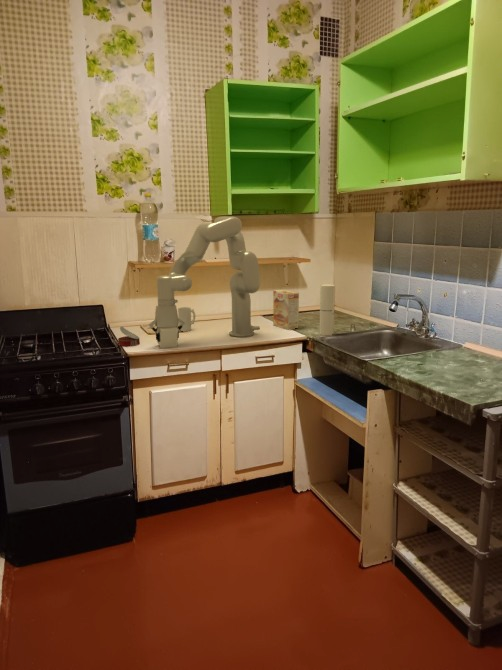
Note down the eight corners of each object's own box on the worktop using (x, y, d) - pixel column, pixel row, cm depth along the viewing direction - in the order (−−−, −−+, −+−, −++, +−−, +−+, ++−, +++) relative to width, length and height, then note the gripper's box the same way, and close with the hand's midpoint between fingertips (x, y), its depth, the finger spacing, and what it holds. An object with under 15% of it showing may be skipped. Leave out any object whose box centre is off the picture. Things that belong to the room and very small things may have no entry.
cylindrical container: (316, 333, 263) (317, 284, 257) (328, 332, 265) (330, 283, 260) (323, 336, 256) (325, 286, 251) (336, 334, 259) (337, 285, 253)
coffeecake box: (272, 325, 283) (272, 290, 279) (283, 323, 287) (283, 289, 282) (287, 330, 271) (288, 293, 266) (298, 328, 274) (299, 292, 270)
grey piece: (173, 339, 243) (173, 322, 239) (177, 346, 237) (177, 329, 233) (157, 341, 240) (157, 324, 237) (160, 348, 234) (161, 330, 230)
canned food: (127, 351, 248) (132, 331, 250) (142, 352, 242) (147, 332, 244) (109, 344, 239) (115, 324, 242) (124, 345, 233) (129, 324, 236)
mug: (183, 332, 266) (182, 309, 264) (176, 330, 271) (175, 308, 269) (199, 329, 273) (198, 307, 270) (192, 327, 278) (191, 306, 275)
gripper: (182, 300, 240) (183, 337, 243) (145, 302, 233) (147, 340, 237) (187, 302, 233) (188, 340, 237) (148, 305, 226) (150, 343, 230)
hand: (167, 340), depth 237 cm, fingers closed on grey piece, 7 cm apart
